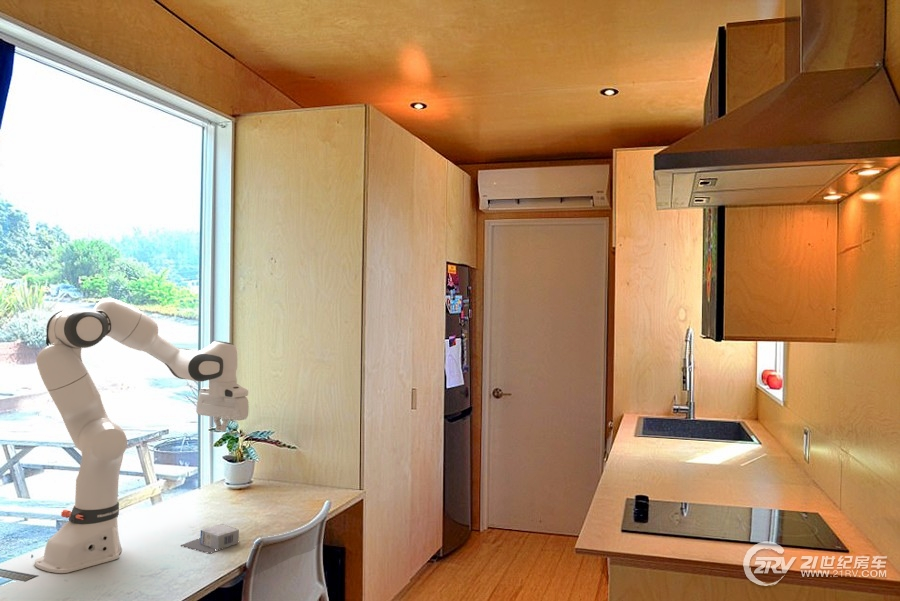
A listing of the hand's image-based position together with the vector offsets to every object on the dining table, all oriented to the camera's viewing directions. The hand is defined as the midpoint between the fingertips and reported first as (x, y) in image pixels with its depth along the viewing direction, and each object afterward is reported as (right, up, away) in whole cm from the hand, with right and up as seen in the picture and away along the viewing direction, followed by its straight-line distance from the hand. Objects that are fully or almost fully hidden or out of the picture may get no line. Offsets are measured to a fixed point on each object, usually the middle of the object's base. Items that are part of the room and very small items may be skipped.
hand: (221, 430), depth 231 cm
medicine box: (+10, -29, -22) cm, 37 cm away
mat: (+3, -31, -19) cm, 37 cm away
